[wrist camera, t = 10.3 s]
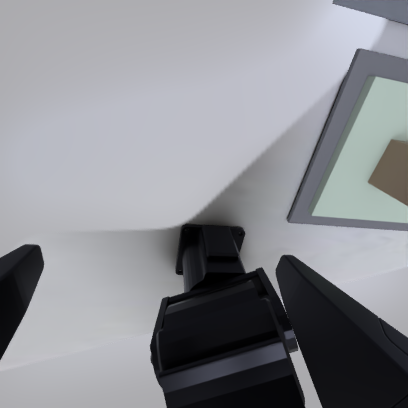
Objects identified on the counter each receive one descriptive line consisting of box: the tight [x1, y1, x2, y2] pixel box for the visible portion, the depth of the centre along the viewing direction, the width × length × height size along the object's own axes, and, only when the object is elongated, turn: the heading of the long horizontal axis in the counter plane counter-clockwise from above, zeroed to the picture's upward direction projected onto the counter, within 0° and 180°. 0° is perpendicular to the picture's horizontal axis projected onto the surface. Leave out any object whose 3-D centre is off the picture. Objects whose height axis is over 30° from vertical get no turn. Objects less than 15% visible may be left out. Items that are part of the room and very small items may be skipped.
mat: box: [287, 49, 408, 231], centre depth 22 cm, size 15×15×1 cm
